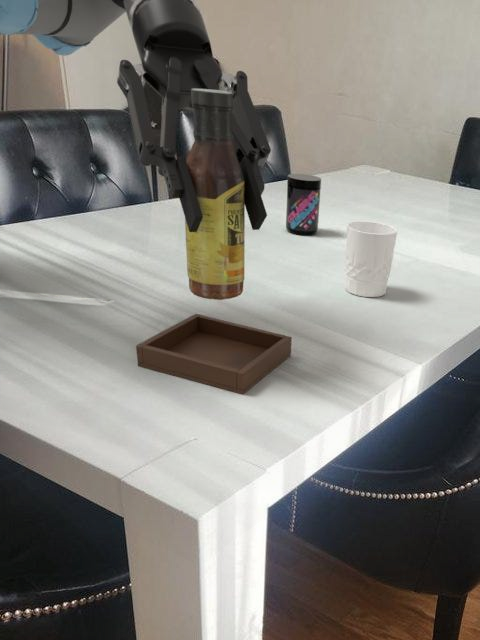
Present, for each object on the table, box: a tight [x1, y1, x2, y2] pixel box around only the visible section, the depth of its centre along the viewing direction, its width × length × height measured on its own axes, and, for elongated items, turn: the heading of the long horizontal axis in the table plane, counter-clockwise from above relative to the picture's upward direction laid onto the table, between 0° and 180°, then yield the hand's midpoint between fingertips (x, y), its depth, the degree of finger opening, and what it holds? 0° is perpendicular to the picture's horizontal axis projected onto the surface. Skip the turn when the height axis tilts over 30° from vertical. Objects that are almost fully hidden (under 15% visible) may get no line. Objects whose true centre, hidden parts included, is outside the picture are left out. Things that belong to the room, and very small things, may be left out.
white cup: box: [344, 220, 398, 298], centre depth 104 cm, size 8×8×10 cm
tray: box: [135, 313, 293, 395], centre depth 77 cm, size 14×13×2 cm
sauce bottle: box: [184, 88, 246, 301], centre depth 68 cm, size 6×6×20 cm
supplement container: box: [285, 173, 322, 236], centre depth 131 cm, size 7×7×10 cm
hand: (228, 223), depth 66 cm, fingers closed on sauce bottle, 6 cm apart
